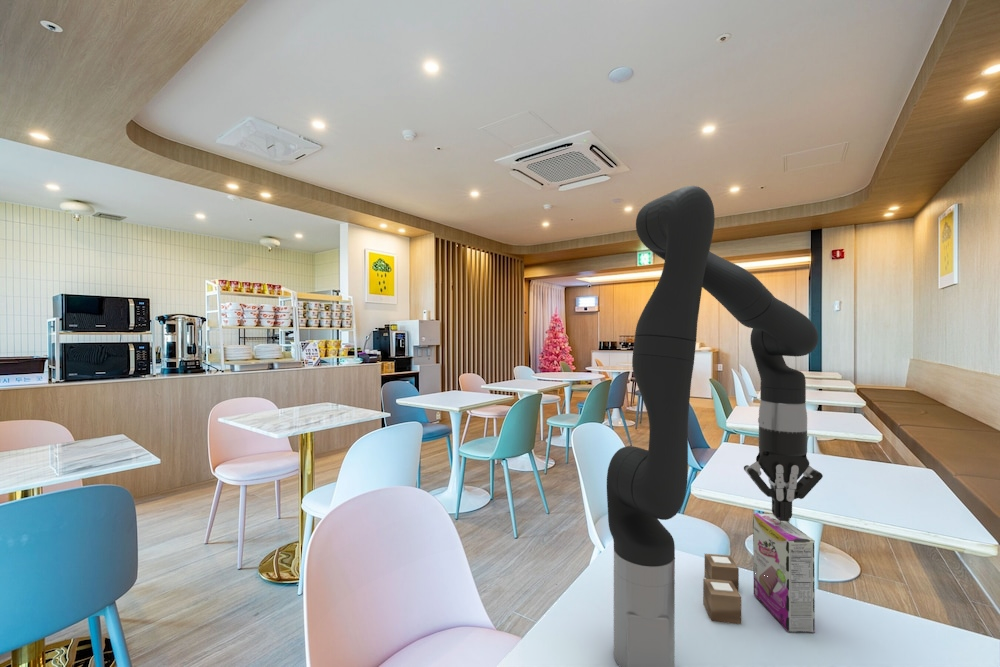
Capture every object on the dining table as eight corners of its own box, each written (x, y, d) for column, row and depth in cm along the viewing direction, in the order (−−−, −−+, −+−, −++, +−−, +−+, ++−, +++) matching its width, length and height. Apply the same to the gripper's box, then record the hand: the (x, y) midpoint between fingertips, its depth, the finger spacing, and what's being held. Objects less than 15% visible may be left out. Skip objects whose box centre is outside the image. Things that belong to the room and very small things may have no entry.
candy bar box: (751, 594, 87) (751, 512, 86) (776, 595, 86) (777, 512, 86) (787, 634, 75) (787, 539, 75) (816, 634, 75) (816, 539, 75)
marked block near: (741, 624, 78) (741, 595, 78) (711, 621, 79) (711, 593, 79) (731, 607, 83) (731, 579, 83) (703, 604, 84) (703, 577, 84)
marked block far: (738, 593, 87) (738, 567, 87) (711, 590, 88) (711, 565, 88) (729, 579, 92) (729, 554, 92) (704, 576, 93) (704, 552, 93)
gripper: (751, 428, 78) (751, 525, 78) (834, 431, 76) (833, 531, 76) (736, 420, 86) (736, 508, 86) (811, 422, 83) (810, 513, 83)
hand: (782, 519), depth 81 cm, fingers closed
